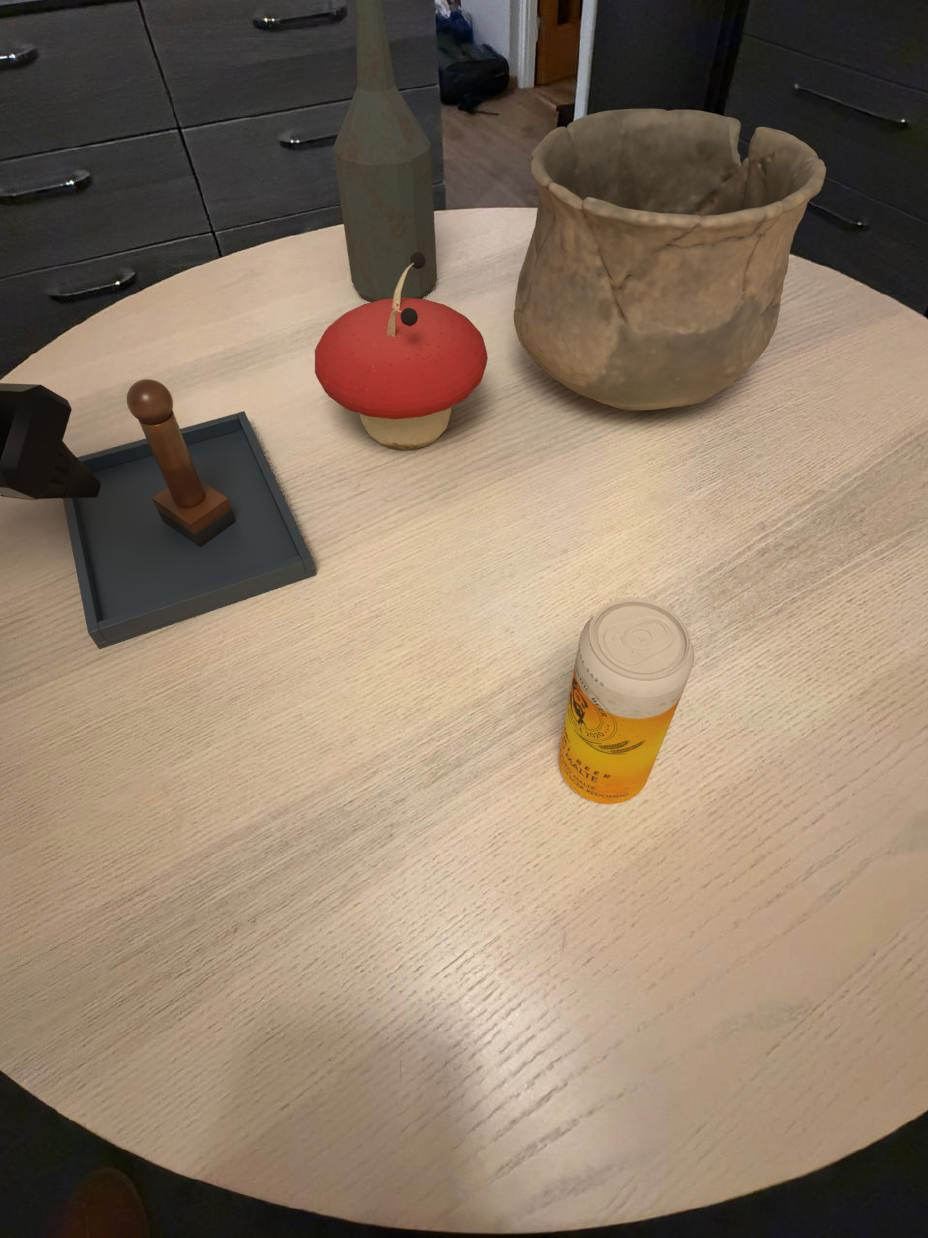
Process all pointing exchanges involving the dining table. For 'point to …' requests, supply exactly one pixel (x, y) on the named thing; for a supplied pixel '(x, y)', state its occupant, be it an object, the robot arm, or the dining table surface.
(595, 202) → the pot
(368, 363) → the mushroom
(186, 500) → the wooden ball stamp
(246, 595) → the tray
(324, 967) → the dining table surface
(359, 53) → the bottle
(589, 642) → the beer can
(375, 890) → the dining table surface
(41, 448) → the robot arm
